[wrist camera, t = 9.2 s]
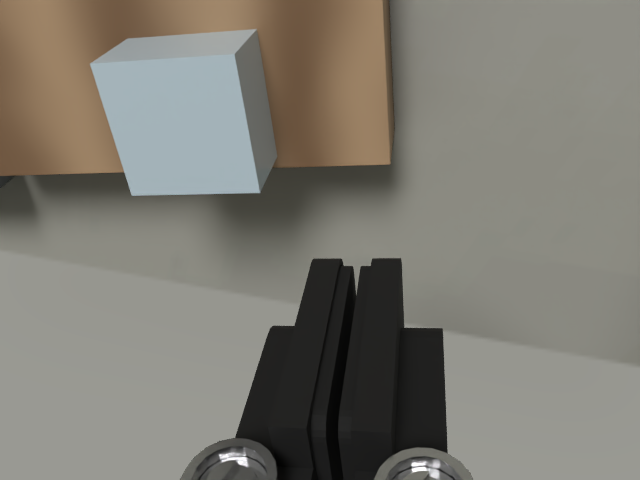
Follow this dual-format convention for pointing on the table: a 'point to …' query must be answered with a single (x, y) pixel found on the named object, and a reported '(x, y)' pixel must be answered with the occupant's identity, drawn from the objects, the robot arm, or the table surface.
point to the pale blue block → (189, 112)
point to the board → (191, 18)
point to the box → (5, 180)
